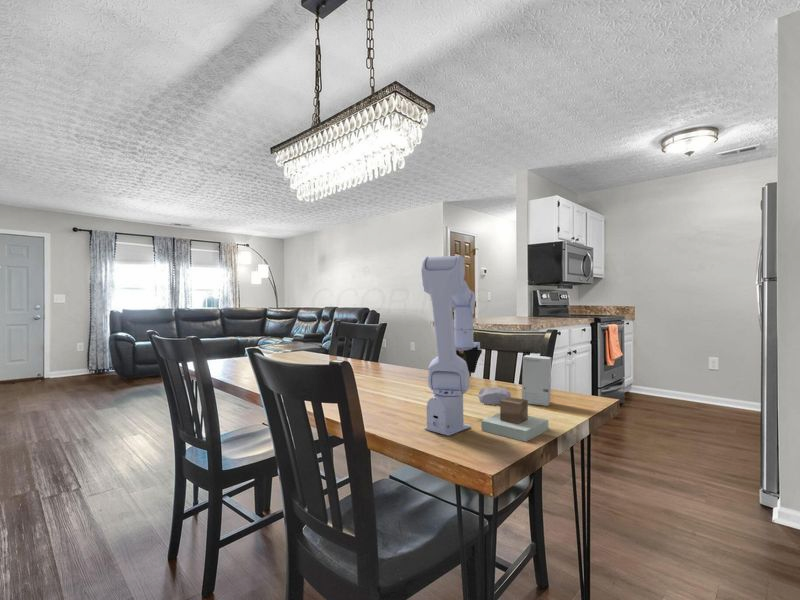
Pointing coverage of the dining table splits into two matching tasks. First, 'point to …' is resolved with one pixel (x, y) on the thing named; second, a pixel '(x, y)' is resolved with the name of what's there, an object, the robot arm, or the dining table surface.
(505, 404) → the walnut cube
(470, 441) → the dining table surface
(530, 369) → the skincare box
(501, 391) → the stone block
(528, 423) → the sage board block
